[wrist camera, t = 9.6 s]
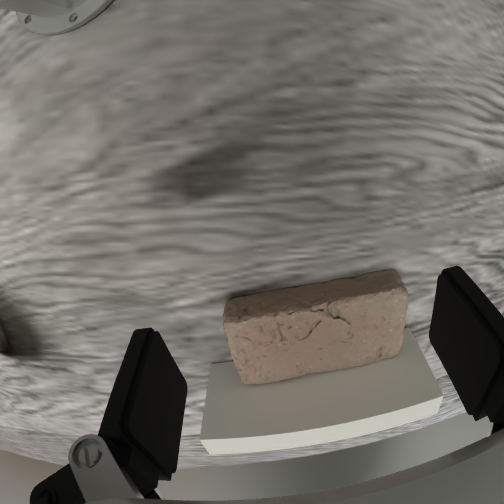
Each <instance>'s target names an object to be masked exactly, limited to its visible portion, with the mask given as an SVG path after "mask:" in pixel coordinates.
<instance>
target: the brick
mask: <svg viewBox="0 0 504 504" xmlns="http://www.w3.org/2000/svg"><path fill="white" fill-rule="evenodd" d="M407 302H408V292H407V289H406V288H405V286H404V283H403V282H402V281H401V278H400V277H399V276H398V274H397V272H396V271H395V270H386V271H375V272H371V273H367V274H363V275H360V276H358V277H356V278H355V279H354V278H344V279H336V280H334V281H328V282H325V283H313V284H310V285H304V286H299V287H297V288H285V289H280V290H273V291H268V292H261V293H256V294H253V295H248V296H244V297H237V298H233V299H231V300H230V301H229V302H228V303H227V304H226V306H225V309H224V313H223V320H224V323H223V327H224V331H225V335H226V336H227V343H228V346H229V350H230V353H231V356H232V359H233V362H234V364H235V366H236V369H237V371H238V374H239V376H240V377H241V380H242V382H243V383H244V384H264V383H270V382H276V381H281V380H284V379H290V378H293V377H298V376H302V375H305V374H307V373H318V372H326V371H333V370H338V369H345V368H350V367H355V366H362V365H366V364H369V363H371V362H378V361H381V360H383V359H385V358H392V357H394V356H396V355H397V354H398V353H399V352H400V350H401V345H402V344H403V339H404V326H405V316H406V312H407V308H408V307H407Z"/></svg>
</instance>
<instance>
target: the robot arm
mask: <svg viewBox="0 0 504 504" xmlns="http://www.w3.org/2000/svg"><path fill="white" fill-rule="evenodd" d="M112 1H113V0H0V9H5V10H11V11H16V15H17V17H18V19H19V21H20V23H21V24H22V25H23V26H24V27H25V28H26V29H27V30H29V31H31V32H33V33H38V34H43V35H57V34H62V33H65V32H69V31H72V30H74V29H76V28H78V27H80V26H82V25H84V24H85V23H87V22H88V21H90V20H91V19H93V18H94V17H96V16H97V15H98V14H99V13H100V12H102V11H103V10H104V9H105V8H106V7H107V6H108V5H109V4H110V3H111V2H112ZM429 339H430V342H431V344H432V346H433V348H434V349H435V351H436V353H437V355H438V357H439V358H440V360H441V362H442V364H443V366H444V368H445V370H446V372H447V373H448V375H449V377H450V379H451V381H452V383H453V385H454V387H455V389H456V391H457V393H458V395H459V397H460V399H461V401H462V403H463V405H464V407H465V409H466V411H467V413H468V414H469V415H473V417H474V419H475V421H477V420H479V419H481V418H483V417H486V416H488V418H489V420H490V425H489V429H488V433H487V437H486V438H484V439H481V440H479V441H477V442H475V443H473V444H471V445H468V446H466V447H464V448H462V449H459V450H457V451H454V452H452V453H450V454H447V455H445V456H442V457H440V458H437V459H434V460H432V461H429V462H426V463H424V464H421V465H418V466H415V467H412V468H409V469H406V470H403V471H400V472H396V473H393V474H390V475H386V476H383V477H379V478H376V479H372V480H368V481H365V482H360V483H356V484H352V485H347V486H343V487H338V488H333V489H328V490H323V491H317V492H311V493H304V494H297V495H290V496H282V497H273V498H262V499H249V500H230V501H229V500H228V501H181V500H180V501H179V500H165V498H164V497H163V496H162V494H161V493H160V492H159V490H158V489H157V485H158V480H167V481H170V480H171V476H172V473H175V472H176V469H177V462H178V454H179V446H180V439H181V431H182V424H183V417H184V410H185V403H186V397H187V383H186V380H185V379H184V377H183V375H182V373H181V372H180V370H179V368H178V366H177V365H176V363H175V361H174V359H173V357H172V356H171V354H170V352H169V350H168V348H167V346H166V345H165V343H164V341H163V339H162V337H161V335H160V333H159V332H158V331H154V330H153V329H152V328H143V329H136V330H134V332H133V335H132V337H131V340H130V343H129V345H128V348H127V351H126V353H125V356H124V359H123V362H122V365H121V367H120V370H119V373H118V375H117V378H116V380H115V383H114V386H113V389H112V392H111V395H110V398H109V401H108V404H107V407H106V410H105V414H104V417H103V420H102V423H101V426H100V430H99V433H98V435H94V434H88V435H84V436H82V437H80V438H79V439H77V440H76V441H75V442H74V443H73V445H72V446H71V448H70V451H69V456H68V459H69V464H67V465H66V466H64V467H63V468H61V469H60V470H58V471H57V472H56V473H54V474H53V475H51V476H50V477H48V478H47V479H45V480H43V481H42V482H40V483H39V484H38V485H37V486H35V487H34V489H33V490H32V492H31V495H30V504H504V317H503V316H502V315H501V313H500V312H499V311H498V310H497V308H496V307H495V306H494V305H493V304H492V302H491V301H490V300H489V299H488V298H487V296H486V295H485V294H484V293H483V292H482V291H481V289H480V288H479V287H478V286H477V285H476V284H475V283H474V282H473V280H472V279H471V278H470V277H469V276H468V275H467V274H466V273H465V272H464V270H463V269H462V268H461V267H459V266H454V267H450V268H446V269H444V270H443V271H442V273H441V275H439V276H438V280H437V287H436V295H435V301H434V308H433V314H432V320H431V325H430V331H429Z"/></svg>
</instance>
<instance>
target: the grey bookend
mask: <svg viewBox="0 0 504 504" xmlns="http://www.w3.org/2000/svg"><path fill="white" fill-rule="evenodd" d="M442 399H443V394H442V391H441V389H440V387H439V385H438V383H437V381H436V379H435V377H434V375H433V373H432V371H431V369H430V367H429V365H428V363H427V361H426V359H425V357H424V355H423V353H422V351H421V349H420V347H419V345H418V343H417V342H416V340H415V338H414V336H413V334H412V332H411V330H410V328H405V329H404V339H403V344H402V345H401V350H400V352H399V353H398V354H397V355H396V356H394V357H392V358H385V359H383V360H381V361H378V362H371V363H369V364H366V365H362V366H355V367H350V368H345V369H338V370H333V371H326V372H318V373H307V374H305V375H302V376H298V377H293V378H290V379H284V380H281V381H276V382H270V383H264V384H244V383H243V382H242V380H241V377H240V376H239V374H238V371H237V369H236V366H235V364H234V362H233V361H232V362H224V363H215V364H211V368H210V375H209V381H208V387H207V394H206V400H205V407H204V414H203V420H202V427H201V434H200V441H201V443H202V444H203V445H204V447H205V448H206V449H207V451H208V452H209V454H233V453H248V452H261V451H271V450H280V449H288V448H296V447H303V446H309V445H316V444H322V443H327V442H333V441H338V440H343V439H348V438H352V437H357V436H361V435H366V434H370V433H374V432H378V431H382V430H386V429H389V428H393V427H396V426H400V425H403V424H407V423H410V422H413V421H417V420H420V419H423V418H426V417H429V416H432V415H435V414H437V413H438V410H439V407H440V404H441V402H442Z"/></svg>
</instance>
